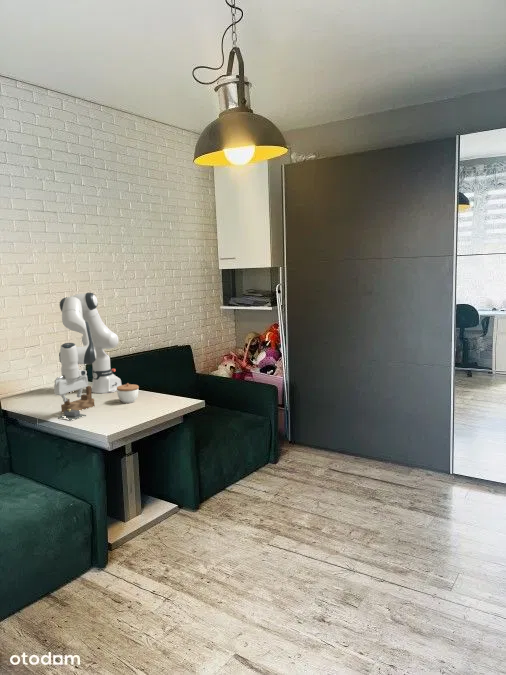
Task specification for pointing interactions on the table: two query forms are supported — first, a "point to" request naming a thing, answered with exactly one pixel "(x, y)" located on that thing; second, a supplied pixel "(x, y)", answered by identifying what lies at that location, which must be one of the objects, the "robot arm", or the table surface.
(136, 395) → the lidded bowl
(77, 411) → the lever cap
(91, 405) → the plane body
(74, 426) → the table surface
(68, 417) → the felt mat
